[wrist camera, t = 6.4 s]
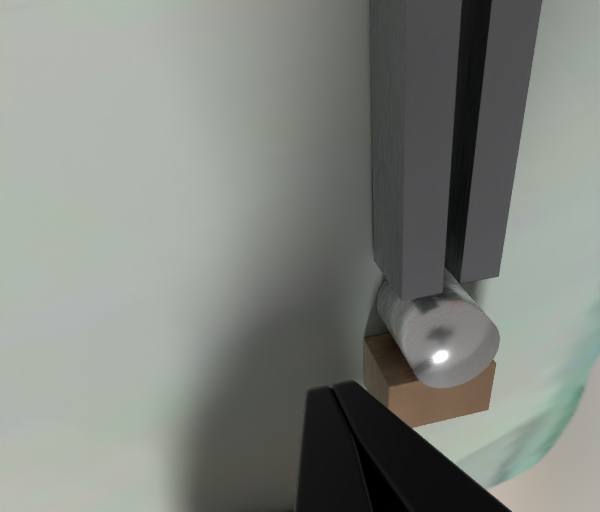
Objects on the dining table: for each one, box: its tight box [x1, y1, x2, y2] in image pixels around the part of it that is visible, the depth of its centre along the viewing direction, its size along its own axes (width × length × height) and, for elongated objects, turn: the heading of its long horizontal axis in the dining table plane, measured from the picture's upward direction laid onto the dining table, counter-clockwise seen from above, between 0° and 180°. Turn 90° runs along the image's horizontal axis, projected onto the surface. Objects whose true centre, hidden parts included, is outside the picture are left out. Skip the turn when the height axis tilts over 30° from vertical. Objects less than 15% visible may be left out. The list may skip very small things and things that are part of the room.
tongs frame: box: [364, 0, 542, 428], centre depth 20 cm, size 20×5×4 cm, turn 4°
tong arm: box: [370, 0, 462, 301], centre depth 18 cm, size 12×2×3 cm, turn 5°
